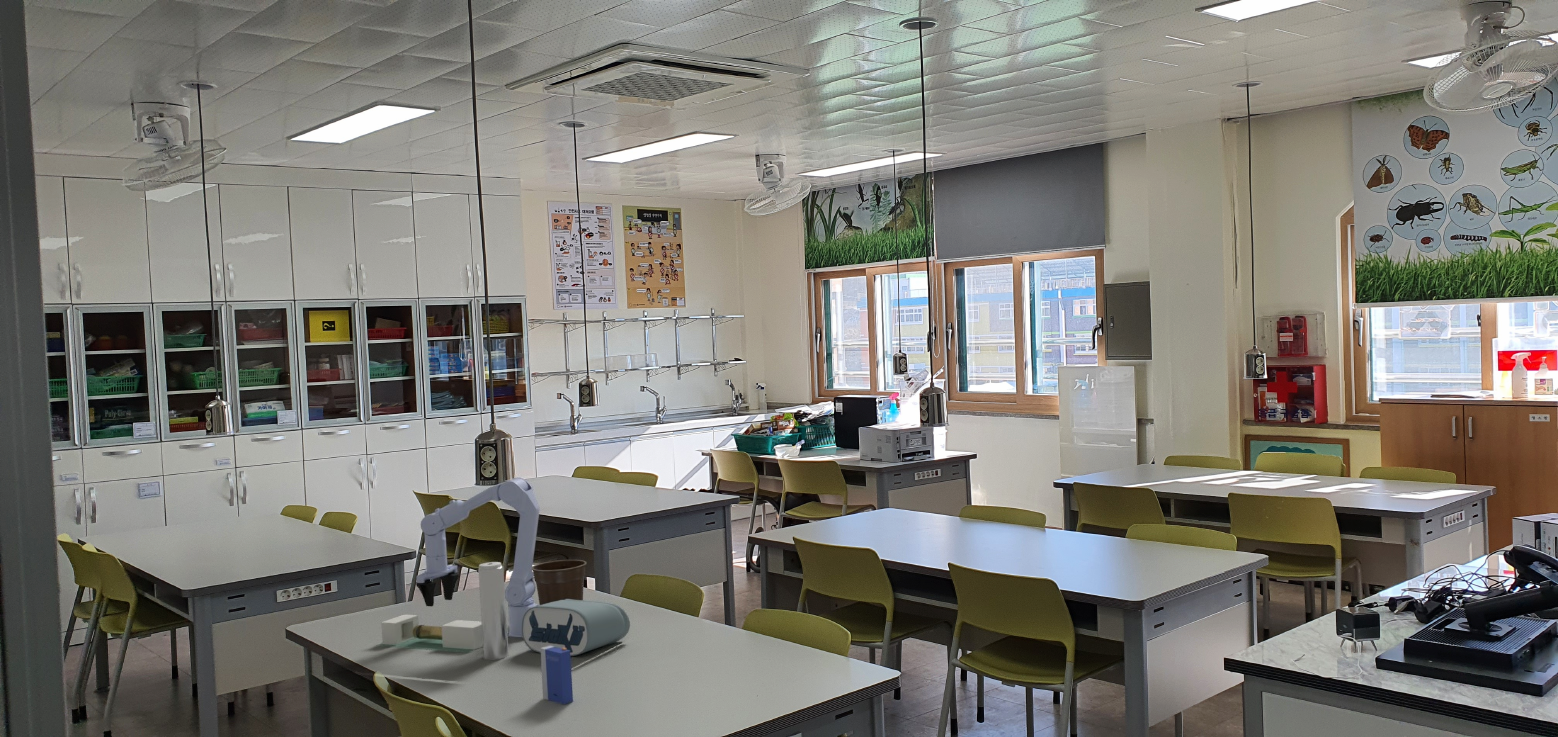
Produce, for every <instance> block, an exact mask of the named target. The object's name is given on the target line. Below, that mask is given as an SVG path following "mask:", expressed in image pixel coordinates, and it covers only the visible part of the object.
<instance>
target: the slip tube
mask: <svg viewBox="0 0 1558 737" xmlns="http://www.w3.org/2000/svg"><path fill="white" fill-rule="evenodd" d="M413 636H414V638H418V639H433V640H442V626H437V625H425V624H419V625H416V626H415V627H414V629H413Z"/></svg>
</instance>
